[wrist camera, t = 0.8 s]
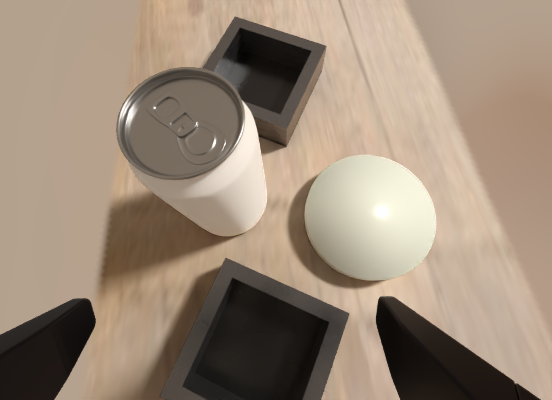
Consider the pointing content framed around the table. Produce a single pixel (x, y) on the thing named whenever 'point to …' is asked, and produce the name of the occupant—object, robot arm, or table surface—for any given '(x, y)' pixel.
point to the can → (196, 148)
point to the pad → (370, 218)
